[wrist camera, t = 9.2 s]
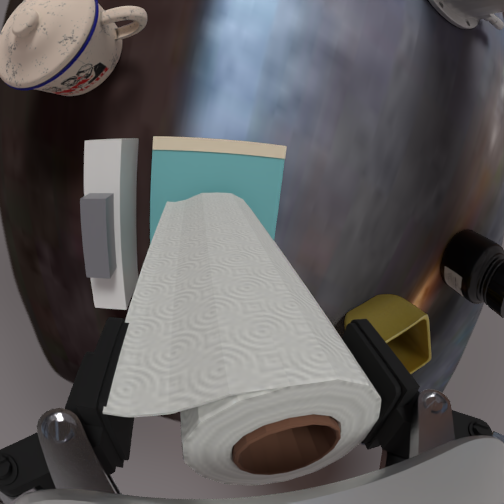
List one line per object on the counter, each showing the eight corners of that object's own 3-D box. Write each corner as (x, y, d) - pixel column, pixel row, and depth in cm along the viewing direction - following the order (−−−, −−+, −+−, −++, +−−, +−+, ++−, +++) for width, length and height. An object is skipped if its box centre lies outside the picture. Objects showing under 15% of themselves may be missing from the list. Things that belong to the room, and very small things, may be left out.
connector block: (138, 138, 24) (113, 139, 17) (138, 278, 29) (121, 323, 22) (108, 138, 23) (74, 141, 16) (111, 277, 29) (88, 320, 21)
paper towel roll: (264, 236, 28) (392, 438, 8) (207, 266, 28) (244, 501, 8) (228, 166, 24) (358, 304, 5) (166, 201, 25) (99, 420, 5)
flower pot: (344, 353, 38) (372, 398, 30) (326, 310, 34) (358, 358, 26) (397, 321, 38) (431, 360, 29) (386, 275, 34) (428, 313, 26)
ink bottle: (428, 279, 36) (484, 324, 25) (452, 220, 33) (517, 254, 22) (463, 287, 38) (512, 325, 27) (483, 236, 35) (538, 267, 24)
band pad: (284, 146, 27) (286, 146, 26) (266, 284, 32) (267, 287, 31) (154, 136, 24) (153, 136, 24) (152, 280, 29) (151, 284, 29)
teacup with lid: (45, 110, 21) (-29, 107, 10) (44, 33, 17) (-18, 2, 7) (158, 78, 22) (129, 40, 12) (154, -2, 19) (132, -66, 8)
